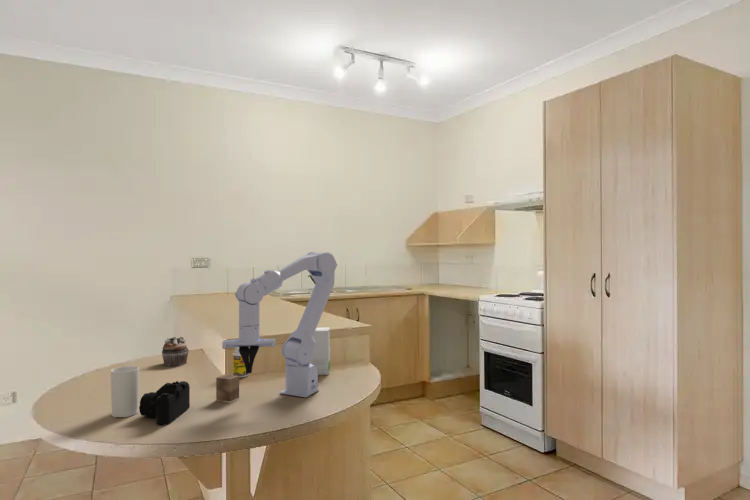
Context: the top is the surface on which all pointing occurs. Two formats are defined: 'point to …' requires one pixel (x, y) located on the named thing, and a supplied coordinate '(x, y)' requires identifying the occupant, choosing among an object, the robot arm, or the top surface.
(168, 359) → the cupcake
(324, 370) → the skincare box
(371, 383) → the top surface
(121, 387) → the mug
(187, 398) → the film camera
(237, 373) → the supplement bottle
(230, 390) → the walnut block
